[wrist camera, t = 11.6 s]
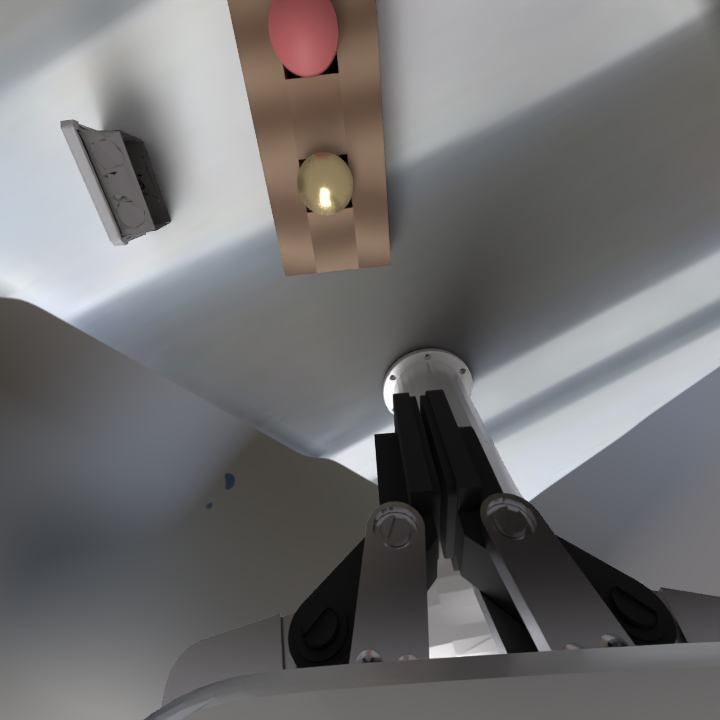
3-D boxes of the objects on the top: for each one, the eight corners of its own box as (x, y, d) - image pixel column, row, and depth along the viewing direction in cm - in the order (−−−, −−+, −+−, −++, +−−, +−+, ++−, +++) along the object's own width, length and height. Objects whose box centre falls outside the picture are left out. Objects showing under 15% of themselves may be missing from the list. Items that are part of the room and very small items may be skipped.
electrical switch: (101, 133, 33) (32, 121, 25) (155, 128, 33) (104, 114, 25) (141, 233, 38) (93, 250, 30) (188, 228, 38) (153, 243, 30)
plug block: (386, 254, 39) (390, 265, 35) (293, 264, 39) (285, 276, 35) (366, -84, 26) (368, -134, 22) (228, -64, 27) (204, -110, 22)
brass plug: (355, 206, 36) (356, 212, 31) (310, 211, 37) (302, 218, 31) (350, 152, 34) (350, 148, 29) (301, 157, 34) (291, 155, 29)
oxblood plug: (344, 87, 31) (342, 70, 25) (290, 94, 31) (276, 78, 25) (336, 12, 28) (332, -25, 23) (278, 20, 28) (260, -15, 23)
